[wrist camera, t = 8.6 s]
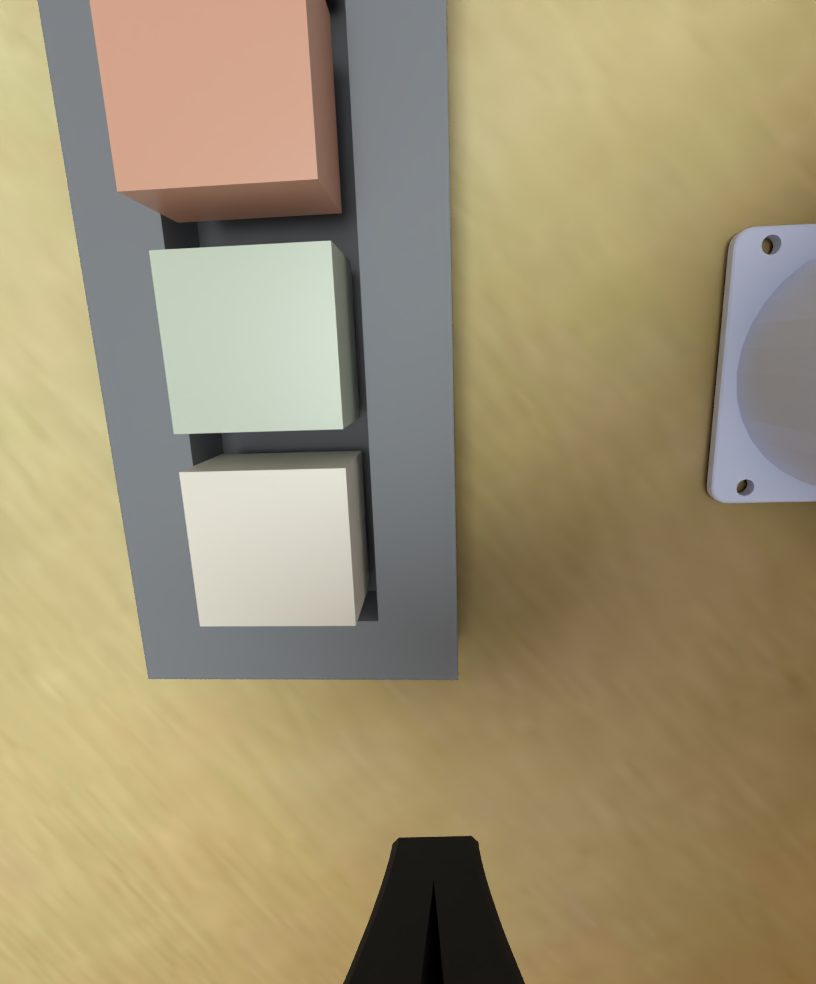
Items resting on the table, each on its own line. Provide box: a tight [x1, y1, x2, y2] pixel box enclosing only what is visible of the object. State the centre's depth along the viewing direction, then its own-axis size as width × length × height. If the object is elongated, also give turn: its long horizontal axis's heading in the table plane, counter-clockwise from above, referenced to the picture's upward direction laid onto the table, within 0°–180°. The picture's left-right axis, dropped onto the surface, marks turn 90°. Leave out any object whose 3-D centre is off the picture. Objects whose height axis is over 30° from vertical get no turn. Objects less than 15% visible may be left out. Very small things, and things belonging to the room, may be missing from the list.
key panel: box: [38, 0, 458, 680], centre depth 16 cm, size 10×26×2 cm, turn 2°
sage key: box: [149, 241, 360, 434], centre depth 15 cm, size 4×4×3 cm
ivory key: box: [179, 451, 369, 626], centre depth 16 cm, size 4×4×3 cm
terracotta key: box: [89, 0, 342, 223], centre depth 13 cm, size 4×4×3 cm
